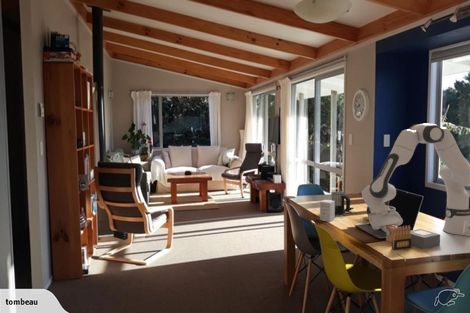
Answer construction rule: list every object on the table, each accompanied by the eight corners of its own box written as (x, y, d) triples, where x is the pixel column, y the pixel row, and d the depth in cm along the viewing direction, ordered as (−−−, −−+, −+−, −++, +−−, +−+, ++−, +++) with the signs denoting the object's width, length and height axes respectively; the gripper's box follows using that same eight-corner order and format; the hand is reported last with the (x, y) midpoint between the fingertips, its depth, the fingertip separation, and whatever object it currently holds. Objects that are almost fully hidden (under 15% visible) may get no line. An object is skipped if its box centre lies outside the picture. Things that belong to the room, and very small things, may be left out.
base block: (420, 239, 216) (420, 228, 216) (439, 245, 206) (440, 234, 205) (404, 242, 211) (404, 231, 211) (423, 249, 201) (424, 237, 200)
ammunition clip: (394, 250, 200) (394, 227, 199) (391, 249, 201) (392, 226, 200) (411, 247, 203) (412, 225, 202) (408, 246, 205) (409, 224, 203)
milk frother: (329, 213, 276) (329, 193, 275) (335, 209, 290) (335, 189, 289) (349, 216, 269) (350, 194, 268) (354, 211, 283) (355, 190, 282)
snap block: (392, 239, 217) (392, 224, 216) (399, 241, 213) (399, 226, 212) (386, 240, 215) (386, 225, 214) (392, 242, 211) (393, 227, 210)
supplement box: (324, 217, 265) (324, 199, 264) (334, 219, 261) (335, 200, 260) (319, 220, 260) (319, 201, 259) (329, 221, 255) (330, 202, 254)
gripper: (369, 211, 214) (382, 233, 207) (396, 206, 223) (410, 228, 215) (363, 217, 219) (376, 239, 211) (390, 213, 228) (403, 233, 220)
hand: (393, 233), depth 213 cm, fingers closed on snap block, 5 cm apart
